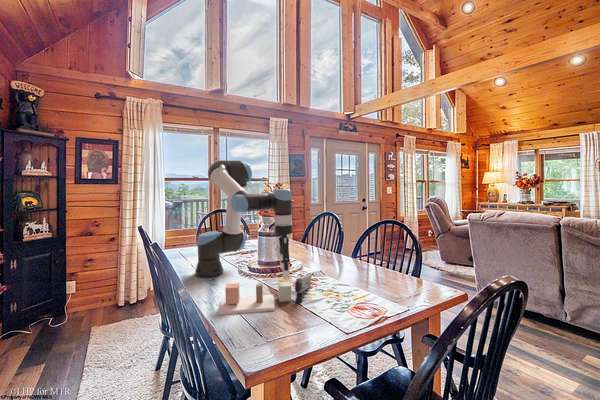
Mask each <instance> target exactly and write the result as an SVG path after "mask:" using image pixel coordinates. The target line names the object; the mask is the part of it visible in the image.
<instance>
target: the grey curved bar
mask: <svg viewBox="0 0 600 400" xmlns="http://www.w3.org/2000/svg"><path fill="white" fill-rule="evenodd" d="M311 284H312V275H311V274H305V275H303V276H299V277H297V278H296V279H295V283H294V285H295V286H294V291H295V293H296V297H295V303H298V304H301V303H302V302H303V299H304V298H303V297H304V292H305V291H306V290H307V289H309V288H310V287H311Z"/></svg>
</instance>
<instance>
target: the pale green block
mask: <svg viewBox="0 0 600 400" xmlns="http://www.w3.org/2000/svg"><path fill="white" fill-rule="evenodd" d="M277 287H278V288H277V289H278V291H277V292H278V293H277V295H278V296H277V297H278V302H292V284H291V281H284V282H283V281H282V282H278V284H277Z"/></svg>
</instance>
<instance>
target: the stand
mask: <svg viewBox="0 0 600 400" xmlns="http://www.w3.org/2000/svg"><path fill="white" fill-rule="evenodd" d="M224 289H225V292H224V293H225V297H222V299H221V302H220V305H219V309H218V315H231V314H233V315H234V314H246V313H258V312H259V313H260V312H271V311H275V310H276V308H275V307H276V306H275V300H274V299H275V298H274V294H265V295H264V294H263V293H264V292H263V283H262V284H261V283H260V284H259V283H258V284H255V294H256V295H244V296H243V295H242V296H241V295H240V293H241V292H240V283H239V282H237V283H235V282H234V283H226V285H225V288H224Z"/></svg>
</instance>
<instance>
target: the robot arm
mask: <svg viewBox="0 0 600 400" xmlns="http://www.w3.org/2000/svg"><path fill="white" fill-rule="evenodd" d="M207 176H208V179H209V181H210V182H211V183H212V184H213V185H215V186H217V187H219V189H220V190H221V191H222V192H223V193H224V194H225V195H226V196H227V198H226V213H225V223H224V224H225V226H224V227H222V229H221V232H219V231H218V230H217V231H216V230H213V231H207V232H203V233H201V234H199V235H198V236H197V242H196V243H197V244H196V245H197V260H198V261H197V263H196V267H195V271H194V272H195V273H194V274H195V276H196V277H197V278H203V279H204V278H213V277H218V276H221V275H222V274H223V273H224V268H223V265H222V262H221V259H220V255H221V254H226V253H233V252H234V253H235V252H237V251H238V252H239V251H241V250H243V248H244V247H245V245H246V240H247V239H246V233H245V232H244V231H243V228H242V227H241V224H242V213H248V212H259V211H274V216H273V218H272V219H273V220H274V224H275V225H274V234H275V235H277V236H278V235H279V237H278V242H279V254H280V255H279V259H280V260H279V261H280V262H279V266H280V268H279V269H281V270H282V278H283V279H289V278H290V261H291V260H290V251H289V249H290V248H289V247H290V246H289V245H290V244H289V241H290V240H289V239H290V238H289V237H288V235H291V234H293V225H292V224H293V205H292V204H293V201H292V200H293V198H292V197H293V196H292V190H291V189H289V188H280V189H279V188H275V189H274V191H273V192H271V193H270V192H265V193H249V192H247V191H246V190H245V188H247V185H248V183H249V182H251V181H252V179H253V172H252V168H251V165H250V164H249V162H247V161H244V160H217V161H215V162H214V163H212V164H211V165H210V166H209V168H208V170H207Z"/></svg>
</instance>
